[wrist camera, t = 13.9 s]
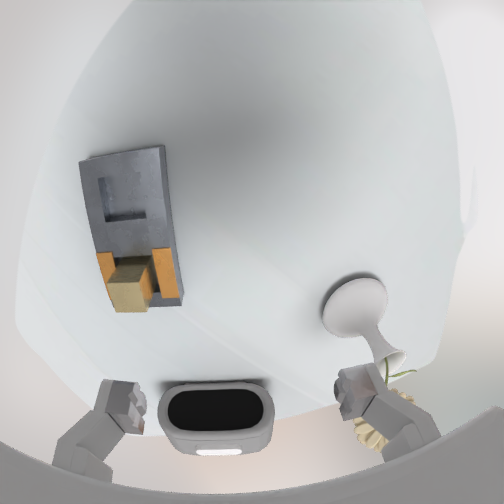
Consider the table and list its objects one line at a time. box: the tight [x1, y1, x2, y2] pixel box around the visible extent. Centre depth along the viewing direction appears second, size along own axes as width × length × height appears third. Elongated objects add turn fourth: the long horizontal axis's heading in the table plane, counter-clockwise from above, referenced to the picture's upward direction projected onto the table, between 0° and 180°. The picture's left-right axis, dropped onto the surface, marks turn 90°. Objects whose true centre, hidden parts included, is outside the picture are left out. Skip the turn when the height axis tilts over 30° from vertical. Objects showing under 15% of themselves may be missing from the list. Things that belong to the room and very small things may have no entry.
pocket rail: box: [79, 146, 184, 307], centre depth 31 cm, size 20×10×3 cm, turn 1°
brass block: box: [106, 255, 158, 312], centre depth 31 cm, size 4×4×7 cm
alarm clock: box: [158, 381, 275, 456], centre depth 43 cm, size 21×10×13 cm, turn 90°
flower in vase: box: [322, 278, 416, 453], centre depth 31 cm, size 13×11×25 cm
